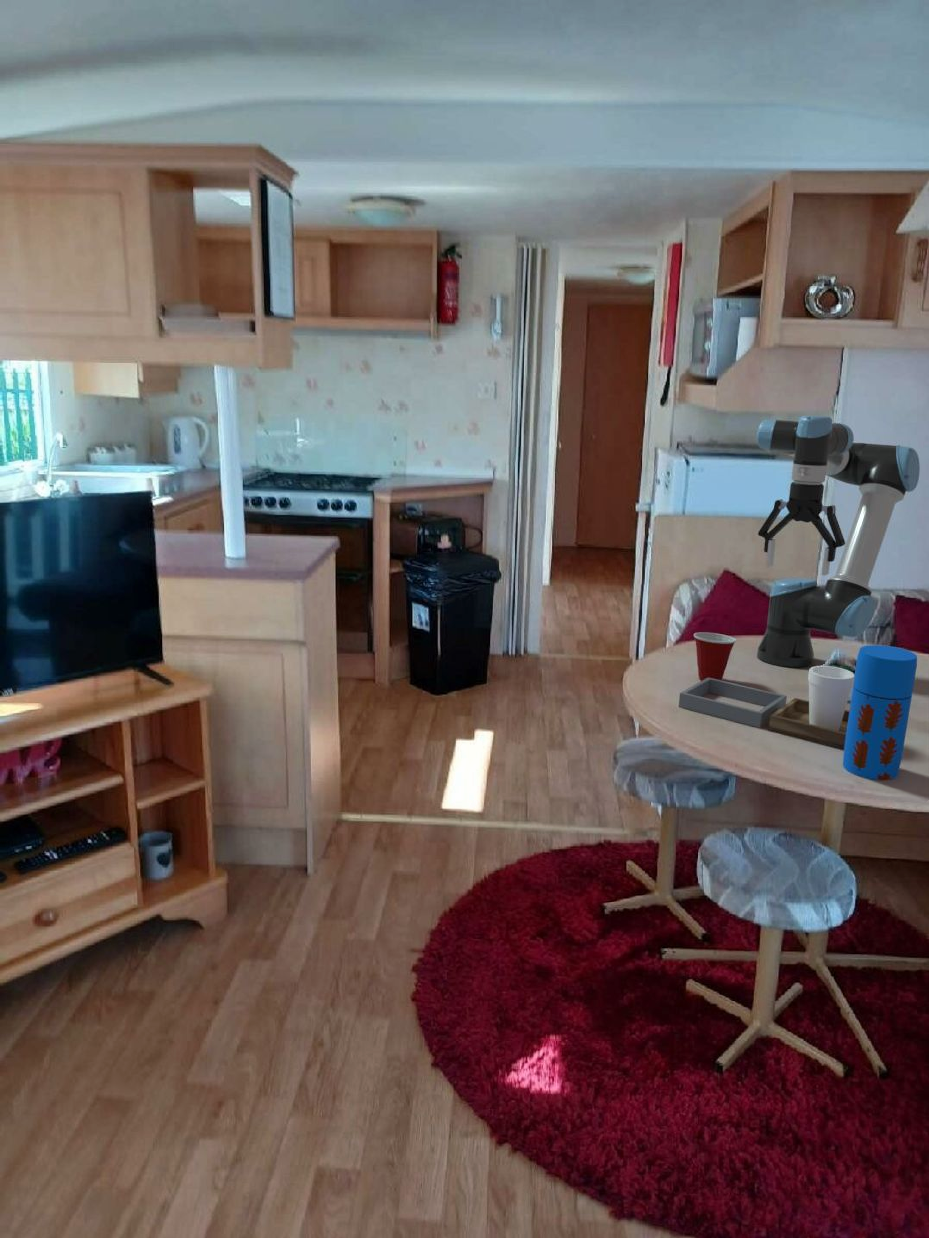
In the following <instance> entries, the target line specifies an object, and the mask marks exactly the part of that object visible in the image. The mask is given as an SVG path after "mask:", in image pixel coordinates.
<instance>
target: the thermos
mask: <svg viewBox="0 0 929 1238" xmlns="http://www.w3.org/2000/svg"><path fill="white" fill-rule="evenodd" d="M917 667H918V656H917V654H916V653H914V652H913V651H910V650H907V649H904V648H900V647H896V646H890V645H882V644H881V645H880V644H878V645H877V644H872V645H871V644H870V645H869V644H868V645H864V646H861V647H860V648H859V650H858V653H857V657H856V663H855V672H854V675H855V677H854V684H853V686H852V690H851V692H852V693H851V698H850V699H851V700H850V704H849V705H850V707H849V718H848V725H847V732H846V739H845V745H844V750H843V759H842V766H843V768H844V770H846V771H847V772H849V773H851V774H853V775H855V776H858V777H861V778H864V779H869V780H875V781H888V780H893V779H896V778H897V776H898V775H899V772H900V766H901V763H902V758H903V753H904V746H905V740H906V735H907V728H908V723H909V717H910V709H911V705H912V697H913V691H914V685H915V680H916V673H917Z"/></svg>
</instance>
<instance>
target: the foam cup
mask: <svg viewBox="0 0 929 1238" xmlns="http://www.w3.org/2000/svg"><path fill="white" fill-rule="evenodd" d="M854 677H855V673H854V672H852V671H850V670H848V669H846V668H841V667H837V666H830V665H816V666H815V665H814V666H811V667H810V668H809V671H808V675H807V680H808V701H809V722H810V724H812V725H816V726H820V727H824V728H828V729H832V730H836V731H838V730H839V728H840V725H841V722H842V719H843V715H844V712H845V710H847V709H846V708H847V705H848V702H849V698H850V695H851V692H852V689H853V686H854V685H853V684H854Z"/></svg>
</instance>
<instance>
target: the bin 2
mask: <svg viewBox="0 0 929 1238" xmlns="http://www.w3.org/2000/svg"><path fill="white" fill-rule="evenodd" d="M849 711H850V709H849V710H848V709H845V712H844V715H843V719H842V722H841V725H840V728H839V730H838V731H836V730H832V729H828V728H824V727H820V726H816V725H812V724H810V722H809V700H806V699H802V698H797V697H794V698H793V699H792V700H790V701H789V702H786V705H784V706H783V707H782V708H780V709H779V710H777V711H776V712H775V713H773V714H772V715H770V721H769V722H768V731H769V732H770V731H771V732H774V733H778V734H782V735H784V736H790V737H793V738H796V739H797V738H798V739H801V740H805V741H809V742H812V743H817V744H821V745H824V746H826V747H827V746H829V747H831V748H835V749H840V750H843V751H844V745H845V739H846V732H847V725H848V718H849Z"/></svg>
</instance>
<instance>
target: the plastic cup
mask: <svg viewBox="0 0 929 1238" xmlns="http://www.w3.org/2000/svg"><path fill="white" fill-rule="evenodd" d="M693 637H694V641H695V647H696V648H695V649H696V664H697V672H698V679H699V680H700V682H701V681H703V680H704V679H706V678H713V679H717V680H721V681H723V678H724V676H725V675H724V674H725V671H726V669H727V665H728V663H729V659H730V658H729V657H730V656H731V651H733V650H732V649H733V647H734V645H735V643H737V639H736V638H735V637H733V636H730V635H726V634H721V633H716V632H705V631H704V632H701V631H700V632H695V633H693Z"/></svg>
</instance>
